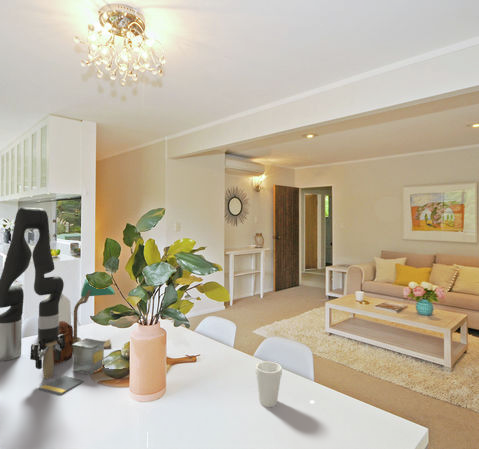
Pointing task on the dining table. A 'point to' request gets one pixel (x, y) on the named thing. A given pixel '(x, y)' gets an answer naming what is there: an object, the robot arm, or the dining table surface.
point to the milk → (63, 309)
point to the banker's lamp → (85, 293)
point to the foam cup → (268, 382)
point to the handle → (48, 360)
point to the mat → (61, 385)
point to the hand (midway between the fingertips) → (48, 364)
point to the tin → (88, 356)
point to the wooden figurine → (67, 351)
